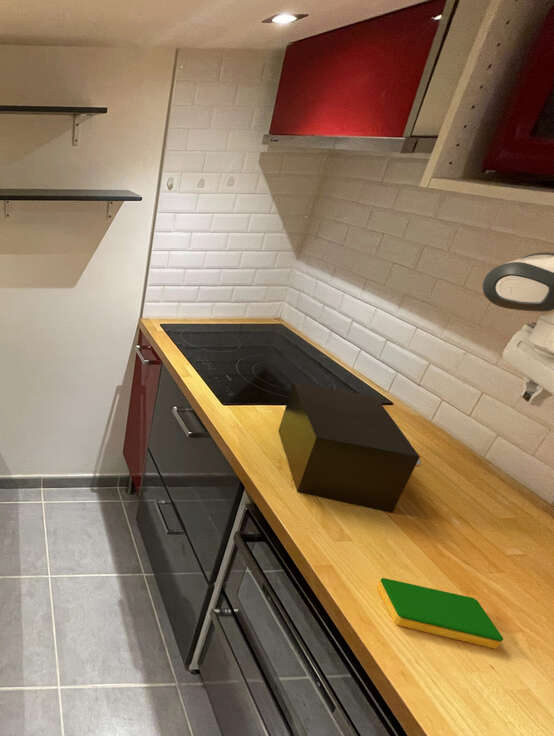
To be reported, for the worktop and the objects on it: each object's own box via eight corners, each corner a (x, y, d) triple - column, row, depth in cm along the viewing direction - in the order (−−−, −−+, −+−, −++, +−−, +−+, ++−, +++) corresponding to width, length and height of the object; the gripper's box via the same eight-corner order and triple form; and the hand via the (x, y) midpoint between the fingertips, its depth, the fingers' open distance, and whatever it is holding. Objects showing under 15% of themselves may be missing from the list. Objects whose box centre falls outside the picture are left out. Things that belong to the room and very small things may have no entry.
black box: (364, 447, 114) (384, 397, 108) (403, 515, 94) (431, 458, 87) (278, 430, 120) (293, 382, 114) (297, 491, 99) (316, 437, 93)
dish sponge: (375, 586, 79) (380, 576, 78) (470, 607, 75) (476, 597, 74) (394, 624, 72) (399, 615, 71) (498, 650, 69) (505, 640, 68)
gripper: (509, 316, 92) (480, 374, 98) (586, 359, 75) (545, 427, 80) (548, 320, 91) (516, 379, 96) (637, 365, 73) (590, 434, 79)
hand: (529, 401), depth 88 cm, fingers closed
